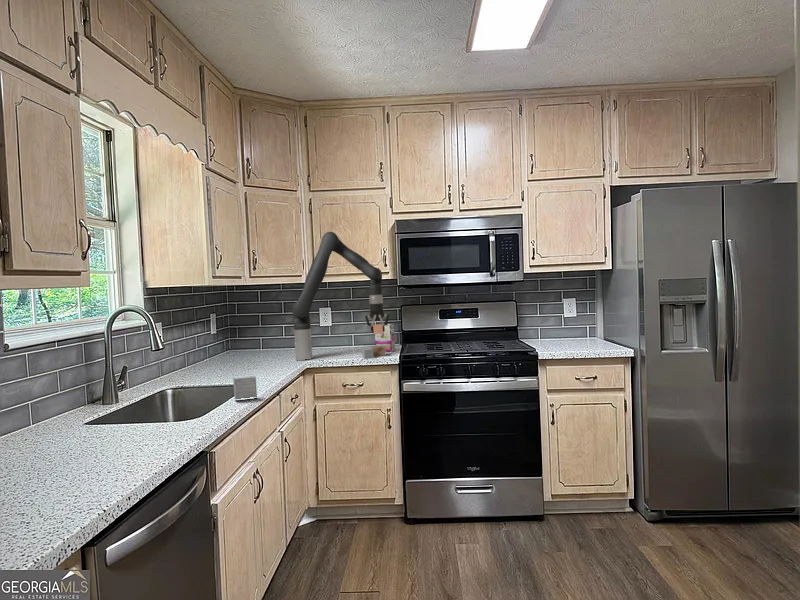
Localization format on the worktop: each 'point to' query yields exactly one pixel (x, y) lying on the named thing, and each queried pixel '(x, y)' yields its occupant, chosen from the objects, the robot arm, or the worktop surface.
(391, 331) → the candy bar box
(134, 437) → the worktop surface
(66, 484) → the worktop surface
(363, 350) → the slate cube
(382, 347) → the walnut block
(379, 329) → the terracotta cube
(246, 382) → the medicine box
